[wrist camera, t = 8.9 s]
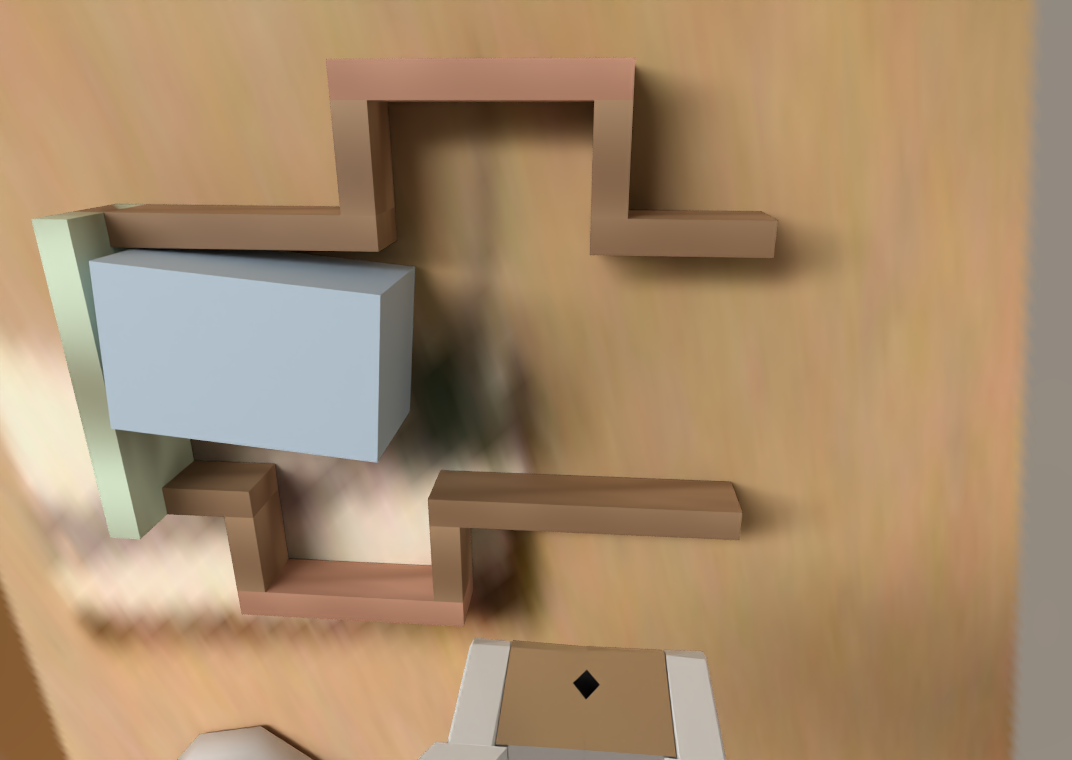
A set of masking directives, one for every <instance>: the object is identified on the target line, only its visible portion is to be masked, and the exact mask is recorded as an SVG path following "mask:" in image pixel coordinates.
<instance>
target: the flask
mask: <svg viewBox="0 0 1072 760" xmlns="http://www.w3.org/2000/svg"><path fill="white" fill-rule="evenodd" d="M177 760H313V759H311V758H310V757H308V756H306V755H305V754H303V753H302V752H300V751H299V750H297V749H295V748H294V747H292V746H291V745H289V744H288V743H286V742H285V741H283V740H281V739H280V738H278V737H277V736H275V735H274V734H272V733H270V732H269V731H267V730H266V729H264V728H263V727H261V726H258V727H251V728H243V729H235V730H228V731H220V732H212V733H205V734H199V735H198V736H197V738H196V739H195V740H194V741H193V742H192V743H191V744H190V746H189V747H188V748H187V749H186V750H185V751H184V752H183V754H182V755H181V756H180V757H179V758H178V759H177Z"/></svg>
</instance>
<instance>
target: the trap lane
mask: <svg viewBox="0 0 1072 760" xmlns="http://www.w3.org/2000/svg"><path fill="white" fill-rule="evenodd" d="M326 66H327V76H328V87H329V97H330V108H331V118H332V129H333V139H334V150H335V160H336V171H337V182H338V192H339V203H340V207H325V206H237V205H149V204H113V205H107V206H102V207H96V208H90V209H85V210H79V211H74V212H68V213H63V214H57V215H51V216H46V217H40V218H35V219H31V220H32V224H33V228H34V232H35V236H36V240H37V244H38V248H39V252H40V256H41V260H42V264H43V268H44V272H45V276H46V280H47V284H48V288H49V292H50V296H51V300H52V304H53V308H54V312H55V316H56V321H57V325H58V329H59V333H60V337H61V341H62V345H63V349H64V353H65V357H66V361H67V365H68V369H69V373H70V377H71V381H72V385H73V389H74V393H75V397H76V401H77V405H78V409H79V413H80V417H81V421H82V425H83V429H84V433H85V437H86V441H87V446H88V450H89V454H90V458H91V462H92V466H93V470H94V474H95V478H96V482H97V486H98V490H99V494H100V498H101V502H102V506H103V510H104V514H105V518H106V522H107V526H108V530H109V534H110V538H127V539H141V538H142V537H143V536H144V535H145V534H146V533H147V532H149V531H150V530H151V529H152V528H153V527H154V526H155V525H156V524H157V523H158V522H159V521H160V520H162V519H163V518H164V517H165V516H166V515H167V514H174V515H196V516H218V517H224V518H225V524H226V529H227V535H228V541H229V546H230V552H231V557H232V563H233V568H234V574H235V580H236V585H237V591H238V596H239V602H240V608H241V613H242V614H248V615H265V616H283V617H301V618H319V619H337V620H355V621H373V622H390V623H408V624H426V625H444V626H462V627H464V624H465V620H466V616H467V612H468V608H469V605H470V601H471V597H472V593H473V571H472V543H471V528H482V529H504V530H526V531H548V532H570V533H592V534H614V535H636V536H658V537H680V538H702V539H724V540H739V538H740V530H741V522H742V510H741V507H740V505H739V502H738V499H737V497H736V494H735V491H734V489H733V486H732V483H731V482H723V481H698V480H672V479H647V478H622V477H596V476H571V475H545V474H520V473H495V472H469V471H444V470H441V471H440V473H439V475H438V478H437V480H436V482H435V484H434V487H433V489H432V491H431V494H430V496H429V498H428V509H429V526H430V543H431V559H432V566H425V565H405V564H385V563H365V562H345V561H325V560H305V559H288V552H287V545H286V538H285V531H284V524H283V517H282V511H281V504H280V497H279V490H278V483H277V476H276V469H275V464H267V463H241V462H216V461H194V458H193V453H192V448H191V443H190V439H188V438H181V437H173V436H165V435H157V434H149V433H141V432H133V431H126V430H118V429H111V425H110V417H109V410H108V402H107V395H106V387H105V380H104V372H103V365H102V357H101V350H100V342H99V335H98V327H97V320H96V312H95V305H94V297H93V289H92V282H91V274H90V267H89V261H90V260H94V259H97V258H101V257H105V256H108V255H112V254H115V253H119V252H122V251H126V250H129V249H133V248H184V249H246V250H307V251H369V252H379V251H380V250H382V249H384V248H385V247H387V246H388V245H390V244H392V243H393V242H395V241H397V232H396V217H395V203H394V188H393V173H392V158H391V144H390V129H389V114H388V102H594V128H593V162H592V197H591V232H590V255H617V256H678V257H740V258H774V250H775V242H776V233H777V225H778V220H776V219H774V218H772V217H770V216H769V215H767V214H765V213H763V212H762V211H677V210H628V203H629V181H630V160H631V139H632V118H633V96H634V75H635V57H628V58H411V59H326Z"/></svg>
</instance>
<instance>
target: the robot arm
mask: <svg viewBox="0 0 1072 760" xmlns="http://www.w3.org/2000/svg"><path fill="white" fill-rule="evenodd" d="M417 760H726V756H725V751H724V746H723V741H722V735H721V730H720V725H719V720H718V715H717V709H716V704H715V699H714V694H713V688H712V683H711V678H710V673H709V668H708V662H707V657H706V656H705V654H704V653H703V651H686V650H664V651H662V650H656V649H636V648H616V647H596V646H576V645H564V644H552V643H540V642H528V641H516V640H513V641H504V640H493V639H483V638H475V639H474V640H473V642H472V644H471V646H470V649H469V653H468V657H467V661H466V666H465V670H464V674H463V678H462V683H461V687H460V691H459V695H458V700H457V704H456V708H455V712H454V717H453V721H452V725H451V729H450V734H449V738H448V742H447V743H443V742H435V743H434V744H433V745H432V746H431V747H430V748H429V749H428V750H427V751H426V752H425V753H424V754H423V755H422V756H421V757H420V758H418V759H417Z"/></svg>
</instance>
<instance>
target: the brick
mask: <svg viewBox="0 0 1072 760" xmlns="http://www.w3.org/2000/svg"><path fill="white" fill-rule="evenodd" d="M89 267H90V274H91V282H92V289H93V297H94V305H95V312H96V320H97V327H98V335H99V342H100V350H101V357H102V365H103V372H104V380H105V387H106V395H107V402H108V410H109V417H110V425H111V429H118V430H126V431H133V432H141V433H149V434H157V435H165V436H173V437H181V438H188V439H196V440H204V441H212V442H220V443H228V444H236V445H243V446H251V447H259V448H267V449H275V450H283V451H290V452H298V453H306V454H314V455H322V456H330V457H338V458H345V459H353V460H361V461H369V462H378V461H379V459H380V458H381V456H382V454H383V453H384V451H385V450H386V448H387V447H388V445H389V443H390V442H391V440H392V439H393V437H394V436H395V434H396V432H397V431H398V429H399V428H400V426H401V425H402V423H403V421H404V420H405V418H406V417H407V415H408V414H409V412H410V396H411V369H412V341H413V314H414V287H415V266H406V265H397V264H389V263H380V262H371V261H363V260H354V259H345V258H336V257H328V256H319V255H310V254H302V253H293V252H284V251H276V250H246V249H184V248H133V249H129V250H126V251H122V252H119V253H115V254H112V255H108V256H105V257H101V258H97V259H94V260H90V261H89Z"/></svg>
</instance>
